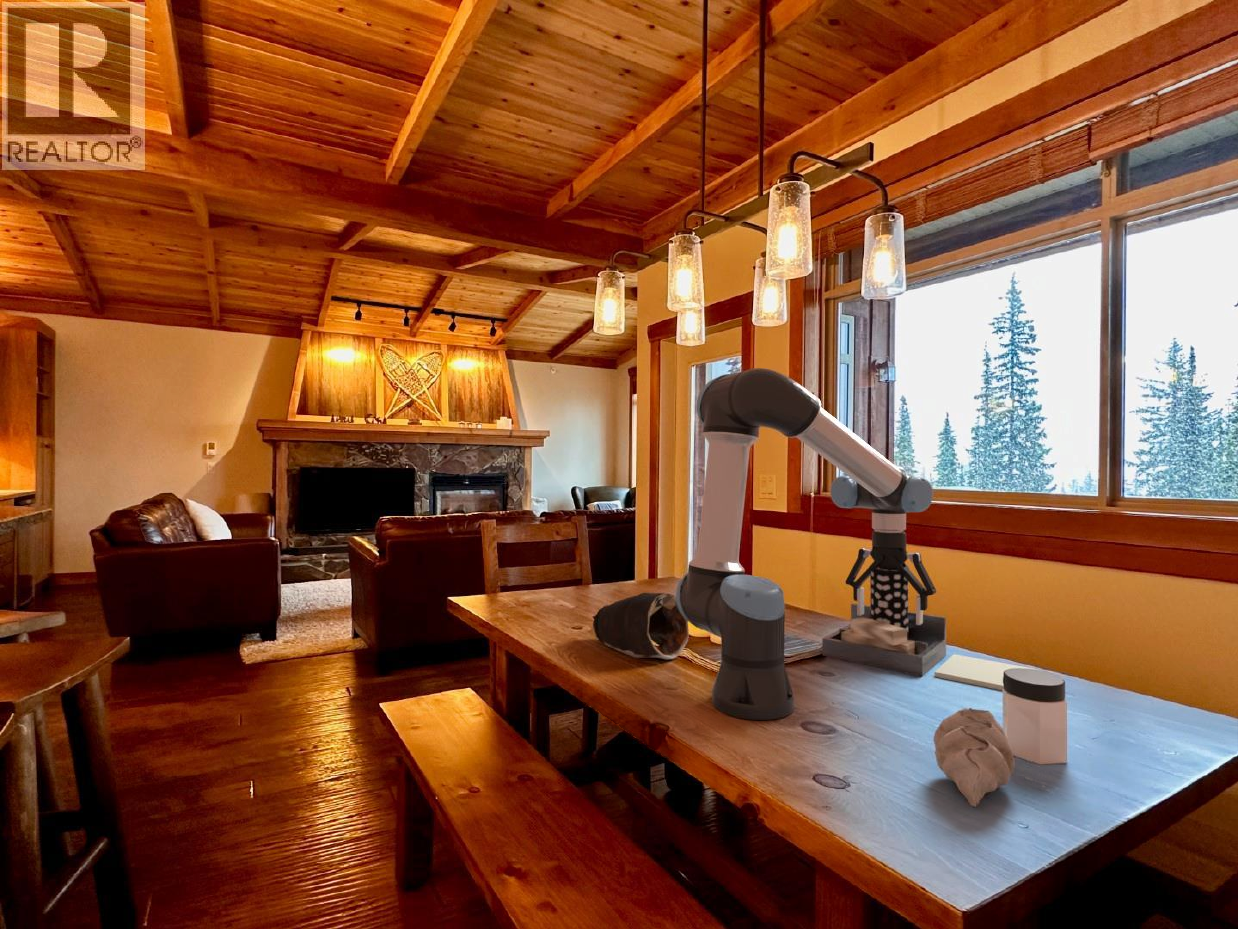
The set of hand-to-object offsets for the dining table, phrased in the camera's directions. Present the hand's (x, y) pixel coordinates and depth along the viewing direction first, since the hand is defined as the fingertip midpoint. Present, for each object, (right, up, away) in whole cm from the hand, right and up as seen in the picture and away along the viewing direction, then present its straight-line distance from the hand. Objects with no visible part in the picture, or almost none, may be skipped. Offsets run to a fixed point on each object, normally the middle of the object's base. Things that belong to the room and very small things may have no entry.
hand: (889, 619), depth 150 cm
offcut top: (-6, -3, -7) cm, 9 cm away
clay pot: (-61, -8, +3) cm, 62 cm away
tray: (-2, -8, -3) cm, 9 cm away
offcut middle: (-6, -6, -7) cm, 10 cm away
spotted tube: (0, -8, 0) cm, 8 cm away
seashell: (-15, -9, -62) cm, 64 cm away
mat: (+13, -8, -17) cm, 23 cm away
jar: (0, -8, -52) cm, 53 cm away
